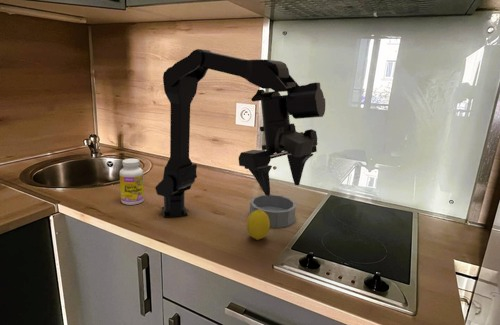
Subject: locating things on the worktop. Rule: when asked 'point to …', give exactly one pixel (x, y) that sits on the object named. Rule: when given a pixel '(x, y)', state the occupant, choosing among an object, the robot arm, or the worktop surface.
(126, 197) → the supplement bottle
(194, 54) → the robot arm
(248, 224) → the lemon
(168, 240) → the worktop surface
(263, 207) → the bowl
